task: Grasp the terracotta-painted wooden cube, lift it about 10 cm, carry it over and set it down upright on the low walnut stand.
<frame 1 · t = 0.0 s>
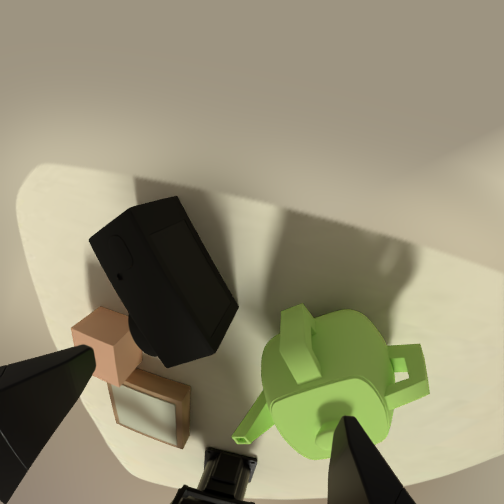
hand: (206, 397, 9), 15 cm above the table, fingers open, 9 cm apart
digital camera: (182, 264, 24), on the table
stand: (153, 400, 30), on the table
cube: (121, 333, 28), on the table
teapot: (327, 354, 24), on the table
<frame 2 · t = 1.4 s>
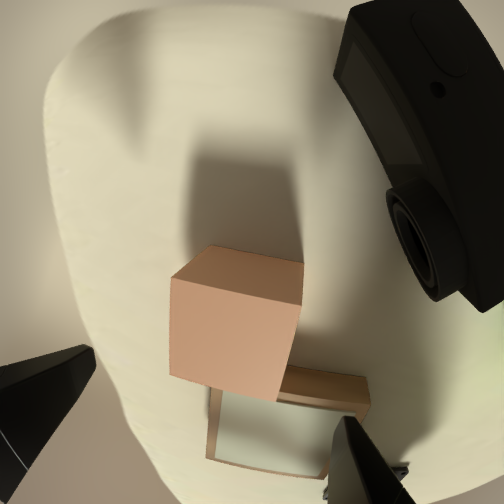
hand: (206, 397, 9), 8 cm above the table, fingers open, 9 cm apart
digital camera: (405, 152, 13), on the table
stand: (281, 414, 18), on the table
cube: (249, 296, 16), on the table
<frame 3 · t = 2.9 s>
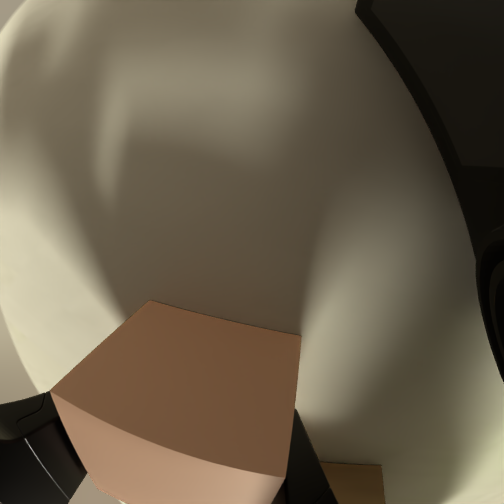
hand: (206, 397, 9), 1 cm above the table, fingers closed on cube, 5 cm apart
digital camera: (476, 145, 6), on the table
stand: (268, 495, 12), on the table
cube: (214, 377, 10), on the table, touching gripper
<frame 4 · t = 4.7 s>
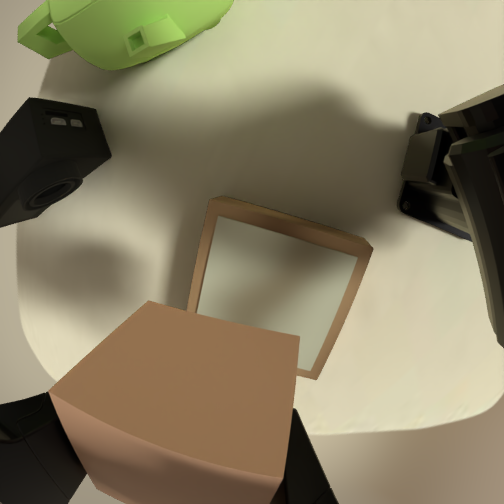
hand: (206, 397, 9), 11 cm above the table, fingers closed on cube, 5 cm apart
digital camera: (64, 173, 20), on the table
stand: (273, 284, 19), on the table
cube: (214, 378, 10), point 10 cm above the table, touching gripper
teapot: (168, 15, 15), on the table
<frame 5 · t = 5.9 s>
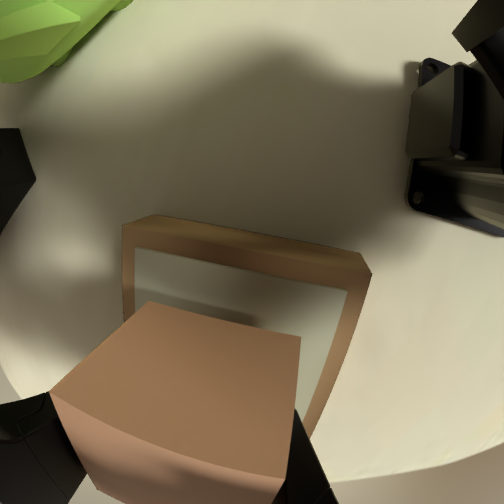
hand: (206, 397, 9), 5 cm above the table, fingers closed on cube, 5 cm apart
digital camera: (2, 205, 15), on the table
stand: (237, 326, 13), on the table
cube: (214, 378, 10), point 4 cm above the table, touching gripper
teapot: (84, 6, 10), on the table
when the fingers open (4 cm above the table, at t = 6.8 s): cube stays where it is, resting on stand.
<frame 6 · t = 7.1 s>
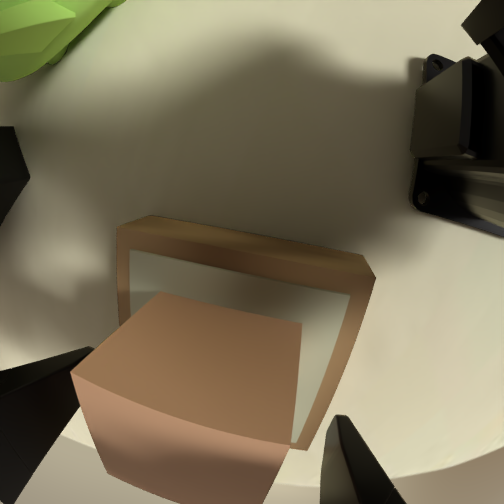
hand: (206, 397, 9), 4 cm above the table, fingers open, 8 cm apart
stand: (236, 330, 13), on the table
cube: (221, 365, 11), point 3 cm above the table, touching stand
teapot: (80, 3, 10), on the table
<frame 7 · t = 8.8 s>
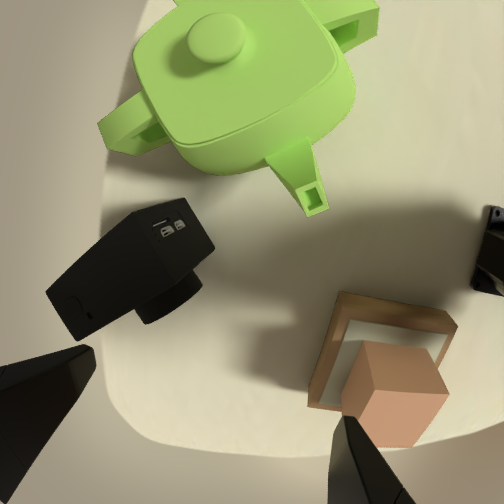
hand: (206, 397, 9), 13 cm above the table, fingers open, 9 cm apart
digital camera: (155, 262, 22), on the table
stand: (377, 352, 21), on the table
cube: (383, 373, 18), point 3 cm above the table, touching stand
teapot: (261, 97, 18), on the table
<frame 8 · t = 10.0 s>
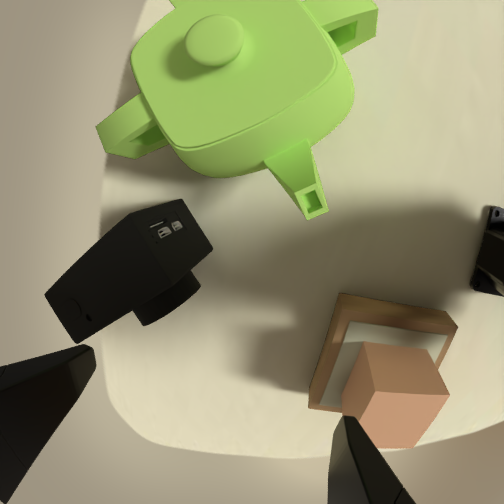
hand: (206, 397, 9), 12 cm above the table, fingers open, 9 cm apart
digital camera: (153, 263, 22), on the table
stand: (377, 353, 21), on the table
cube: (383, 374, 18), point 3 cm above the table, touching stand
teapot: (259, 99, 18), on the table
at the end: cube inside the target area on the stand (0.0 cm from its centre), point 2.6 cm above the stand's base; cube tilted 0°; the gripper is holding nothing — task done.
